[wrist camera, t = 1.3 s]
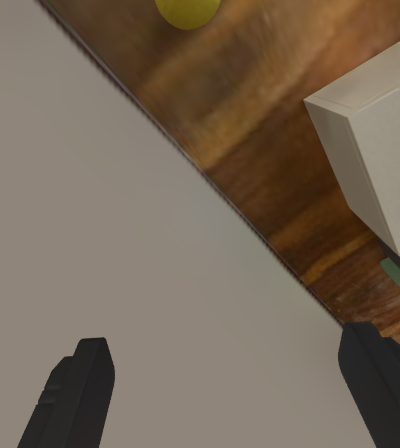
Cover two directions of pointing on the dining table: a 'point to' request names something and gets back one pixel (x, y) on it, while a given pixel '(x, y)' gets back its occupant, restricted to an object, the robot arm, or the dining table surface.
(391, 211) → the small bedside cabinet
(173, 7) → the lemon
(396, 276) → the drawer
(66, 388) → the robot arm
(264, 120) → the dining table surface
